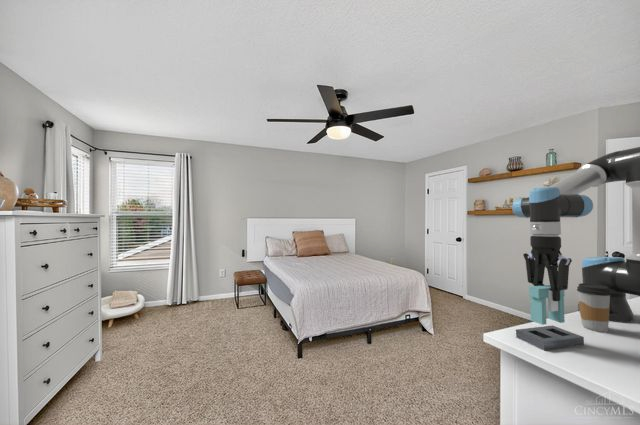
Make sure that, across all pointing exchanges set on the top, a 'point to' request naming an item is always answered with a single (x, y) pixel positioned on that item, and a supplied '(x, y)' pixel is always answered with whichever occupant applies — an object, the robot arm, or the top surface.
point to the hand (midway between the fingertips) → (547, 308)
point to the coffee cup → (594, 306)
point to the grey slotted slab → (549, 337)
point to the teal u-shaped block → (544, 305)
